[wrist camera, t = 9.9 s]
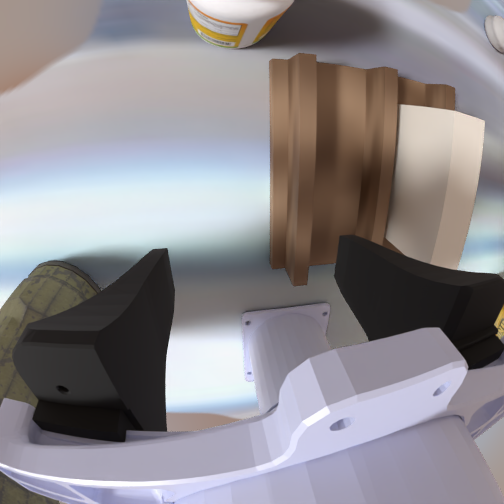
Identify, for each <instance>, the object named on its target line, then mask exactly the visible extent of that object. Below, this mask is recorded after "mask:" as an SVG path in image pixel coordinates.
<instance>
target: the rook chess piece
mask: <svg viewBox="0 0 504 504" xmlns="http://www.w3.org/2000/svg"><path fill="white" fill-rule="evenodd" d="M484 26H485V31H486V35H487V37H488V39H489V41H490V43H491V44H492V45H493V47H494V48H496V49H497V50H498V51H500V52H501V53H504V18H502V17H500V16H496V15H495V16H491V15H489V16H488V17H486V19H485V23H484Z"/></svg>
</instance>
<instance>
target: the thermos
mask: <svg viewBox="0 0 504 504" xmlns="http://www.w3.org/2000/svg"><path fill="white" fill-rule="evenodd" d="M99 292H101V291H100V289H99V287H98V286H97V285H96V284H95V283H94V281H93V280H92V279H91V278H90V277H89V276H88V275H87V274H85V273H84V272H82V271H81V270H80V269H78V268H77V267H75V266H72V265H70V264H67V263H64V262H61V261H47V262H45V263H42V264H39V265H38V266H37V267H36V268H35V269H34V270H33V271H32V272H31V273H30V275H29V276H28V278H26V279H24V280H23V281H22V282H21V283H20V284H19V286H18V287H17V288H16V289H15V290H14V292H13V293H12V294H11V296H10V297H9V298H8V300H7V301H6V302H5V304H4V305H3V306H2V308H1V309H0V407H1V404H2V402H3V399H4V398H8V399H12V400H16V401H20V402H25V403H28V404H30V405H32V406H33V407H35V408H36V406H37V403H38V399H37V398H36V396H35V395H34V394H33V392H32V391H31V390H30V388H29V387H28V386H27V384H26V383H25V382H24V380H23V379H22V378H21V376H20V375H19V373H18V371H17V370H16V368H15V366H14V362H13V359H12V350H13V349H14V347H15V345H16V343H17V341H18V339H19V338H20V336H21V334H22V332H23V331H24V329H25V327H26V325H27V324H28V323H31V322H34V321H38V320H41V319H44V318H47V317H50V316H53V315H56V314H58V313H61V312H63V311H65V310H68V309H70V308H72V307H74V306H76V305H78V304H80V303H82V302H84V301H86V300H87V299H89V298H91V297H93V296H95V295H96V294H98V293H99ZM0 504H60V503H59V501H58V500H55V499H52V498H49V497H46V496H43V495H40V494H38V493H35V492H32V491H30V490H28V489H26V488H25V487H23V486H22V485H20V484H19V483H17V482H16V481H14V480H13V479H11V478H10V477H8V476H7V475H6V474H4V473H3V472H1V471H0Z"/></svg>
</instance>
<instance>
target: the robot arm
mask: <svg viewBox="0 0 504 504" xmlns="http://www.w3.org/2000/svg"><path fill="white" fill-rule="evenodd" d="M334 277H335V279H336V282H337V284H338V287H339V289H340V291H341V293H342V295H343V297H344V298H345V300H346V302H347V303H348V305H349V307H350V308H351V310H352V311H353V313H354V315H355V316H356V318H357V320H358V321H359V323H360V324H361V326H362V328H363V329H364V331H365V333H366V335H367V337H368V339H369V341H370V342H365V343H360V344H356V345H351V346H346V347H341V348H336V349H331V347H330V345H329V343H328V341H327V339H326V337H325V336H326V331H327V326H328V320H329V315H330V309H331V307H330V305H329V304H328V303H320V304H313V305H305V306H297V307H289V308H280V309H271V310H262V311H252V312H245V313H243V315H242V333H243V351H244V370H245V380H246V381H248V382H251V381H254V383H255V389H256V394H257V399H258V404H259V409H260V415H258V416H254V417H251V418H247V419H244V420H240V421H237V422H233V423H229V424H225V425H221V426H217V427H213V428H208V429H204V430H199V431H189V432H188V431H187V432H167V424H166V402H165V372H166V355H167V348H168V342H169V336H170V330H171V325H172V319H173V313H174V298H175V289H174V284H173V278H172V273H171V267H170V261H169V255H168V249H167V248H164V249H153V250H151V251H150V252H149V253H148V254H146V255H145V256H144V257H143V258H142V259H141V260H140V261H139V262H138V263H136V264H135V265H134V266H133V267H132V268H131V269H130V270H129V271H127V272H126V273H125V274H124V275H122V276H121V277H120V278H119V279H118V280H116V281H115V282H114V283H112V284H111V285H110V286H108V287H107V288H105V289H104V290H102V291H101V292H99V293H98V294H96V295H95V296H93V297H91V298H89V299H87V300H86V301H84V302H82V303H80V304H78V305H76V306H74V307H72V308H70V309H68V310H65V311H63V312H61V313H58V314H56V315H53V316H50V317H47V318H44V319H41V320H38V321H34V322H31V323H28V324H27V325H26V327H25V329H24V331H23V332H22V334H21V336H20V338H19V339H18V341H17V343H16V345H15V347H14V349H13V350H12V359H13V362H14V366H15V368H16V370H17V371H18V373H19V375H20V376H21V378H22V379H23V380H24V382H25V383H26V384H27V386H28V387H29V388H30V390H31V391H32V392H33V394H34V395H35V396H36V398H37V399H38V403H37V406H36V408H35V407H33V406H32V405H30V404H28V403H25V402H20V401H16V400H12V399H8V398H4V399H3V402H2V404H1V407H0V471H1V472H3V473H4V474H6V475H7V476H8V477H10V478H11V479H13V480H14V481H16V482H17V483H19V484H20V485H22V486H23V487H25V488H26V489H28V490H30V491H32V492H35V493H38V494H40V495H43V496H46V497H49V498H52V499H55V500H58V501H61V502H64V503H67V504H504V496H503V494H502V492H501V490H500V488H499V486H498V484H497V482H496V480H495V478H494V476H493V474H492V472H491V470H490V468H489V466H488V465H487V463H486V461H485V459H484V457H483V455H482V454H481V452H480V450H479V448H478V446H477V445H476V443H475V442H474V439H476V438H477V437H478V436H480V435H481V434H482V433H484V432H485V431H486V430H487V429H489V428H490V427H491V426H493V425H494V424H495V423H496V422H497V421H499V420H500V419H501V418H503V417H504V336H503V337H502V338H501V339H499V338H498V337H497V336H496V334H497V333H498V328H497V327H496V326H495V325H494V324H495V322H496V320H497V318H498V316H499V314H500V312H501V309H502V307H503V305H504V279H503V278H501V277H500V276H499V275H497V274H492V273H475V272H467V271H459V270H454V269H449V268H444V267H440V266H436V265H432V264H429V263H425V262H422V261H419V260H416V259H413V258H410V257H408V256H405V255H403V254H400V253H398V252H395V251H393V250H390V249H388V248H386V247H383V246H381V245H379V244H377V243H374V242H372V241H370V240H367V239H365V238H362V237H359V236H356V235H339V244H338V252H337V259H336V267H335V274H334ZM323 312H325V313H323ZM246 321H250V322H248V323H246Z"/></svg>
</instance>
